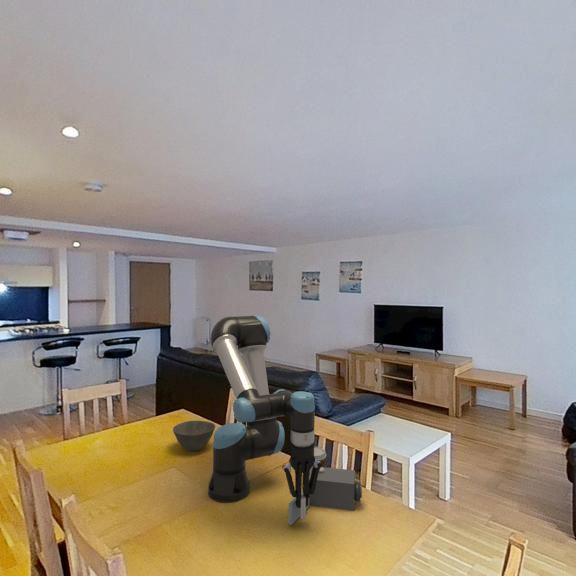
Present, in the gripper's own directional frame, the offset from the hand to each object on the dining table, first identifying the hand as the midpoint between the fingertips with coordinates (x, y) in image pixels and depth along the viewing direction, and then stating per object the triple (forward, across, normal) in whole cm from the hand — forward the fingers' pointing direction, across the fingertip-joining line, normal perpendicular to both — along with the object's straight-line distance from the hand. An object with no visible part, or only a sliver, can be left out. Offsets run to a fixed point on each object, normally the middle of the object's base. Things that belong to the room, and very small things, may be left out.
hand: (301, 516), depth 126 cm
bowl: (+2, -26, +68) cm, 73 cm away
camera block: (+2, +16, +9) cm, 18 cm away
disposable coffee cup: (+3, +14, +23) cm, 27 cm away
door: (+2, +1, +4) cm, 5 cm away
